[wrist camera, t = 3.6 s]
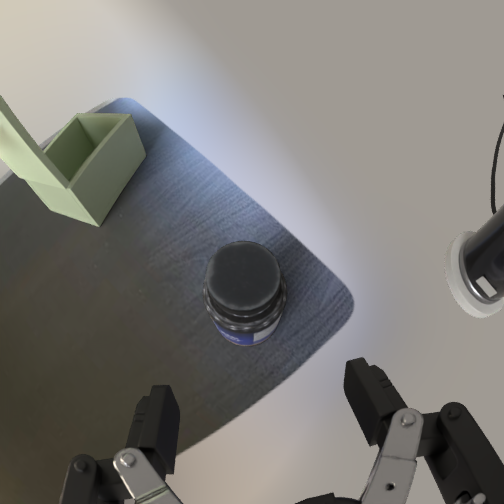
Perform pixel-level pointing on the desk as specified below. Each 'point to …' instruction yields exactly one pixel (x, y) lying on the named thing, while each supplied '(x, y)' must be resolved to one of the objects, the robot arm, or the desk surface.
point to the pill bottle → (244, 292)
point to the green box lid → (25, 152)
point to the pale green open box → (92, 165)
